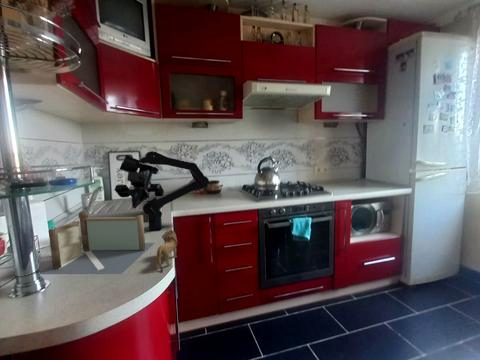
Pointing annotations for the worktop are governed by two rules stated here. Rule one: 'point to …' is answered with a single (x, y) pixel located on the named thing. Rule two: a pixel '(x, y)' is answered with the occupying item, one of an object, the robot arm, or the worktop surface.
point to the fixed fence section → (68, 241)
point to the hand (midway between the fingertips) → (133, 207)
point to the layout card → (99, 262)
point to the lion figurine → (166, 248)
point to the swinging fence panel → (116, 233)
